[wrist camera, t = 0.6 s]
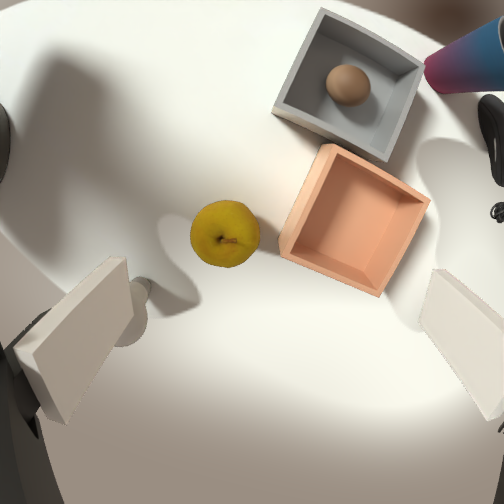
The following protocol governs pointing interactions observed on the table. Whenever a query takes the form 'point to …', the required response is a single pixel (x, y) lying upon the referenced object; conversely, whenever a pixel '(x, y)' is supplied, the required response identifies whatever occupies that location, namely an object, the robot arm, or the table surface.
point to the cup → (470, 62)
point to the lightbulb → (136, 312)
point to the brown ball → (348, 85)
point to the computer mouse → (494, 142)
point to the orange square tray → (351, 220)
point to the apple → (225, 233)
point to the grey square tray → (360, 117)
